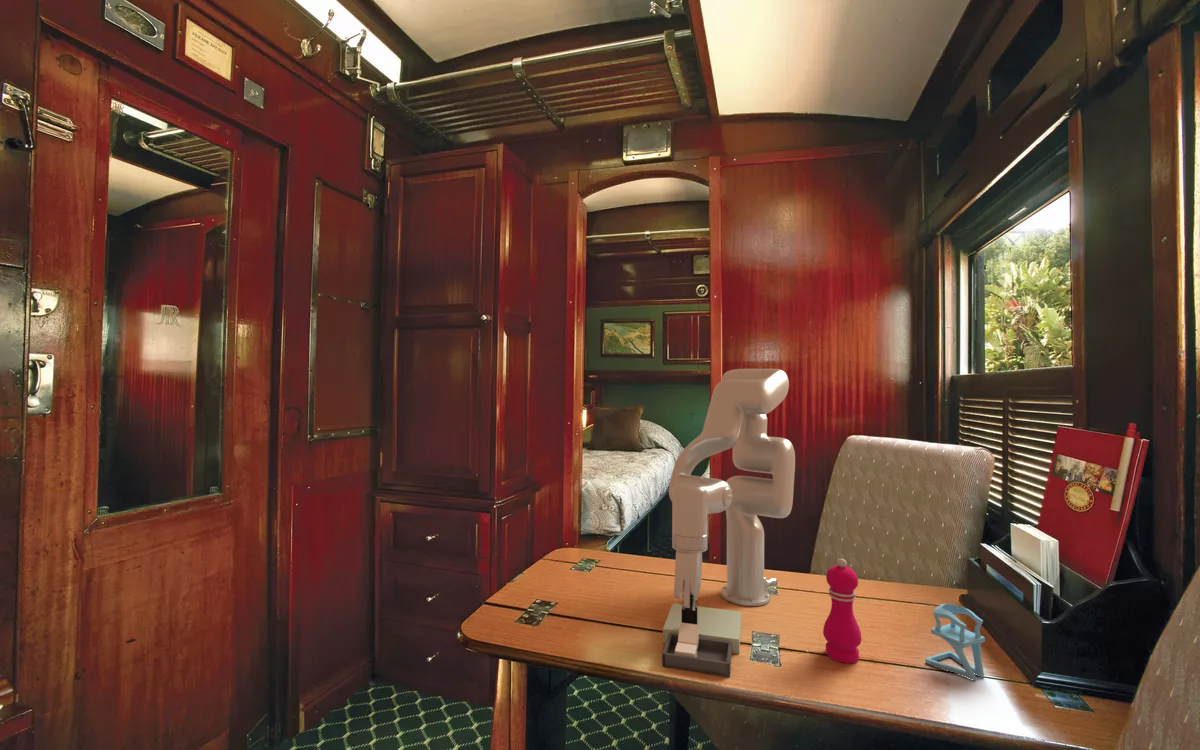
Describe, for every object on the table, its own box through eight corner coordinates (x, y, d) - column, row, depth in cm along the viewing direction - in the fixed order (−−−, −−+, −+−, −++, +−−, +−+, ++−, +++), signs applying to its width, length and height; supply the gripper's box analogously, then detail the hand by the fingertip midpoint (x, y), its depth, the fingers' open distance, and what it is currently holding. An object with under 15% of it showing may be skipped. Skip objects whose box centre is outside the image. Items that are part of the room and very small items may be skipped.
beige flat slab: (672, 615, 128) (672, 603, 128) (741, 624, 123) (741, 611, 123) (662, 642, 114) (662, 628, 115) (739, 654, 110) (739, 639, 110)
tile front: (674, 650, 106) (674, 661, 106) (695, 653, 105) (694, 664, 105) (677, 641, 110) (677, 651, 110) (697, 644, 109) (697, 654, 109)
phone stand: (966, 684, 100) (967, 620, 100) (924, 662, 107) (924, 603, 107) (992, 675, 103) (992, 613, 103) (949, 655, 110) (949, 597, 110)
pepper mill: (859, 669, 105) (859, 567, 105) (820, 658, 108) (820, 560, 109) (863, 653, 111) (863, 557, 111) (826, 644, 114) (826, 551, 115)
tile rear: (680, 627, 114) (680, 622, 113) (699, 629, 113) (699, 624, 112) (678, 645, 111) (677, 640, 110) (698, 648, 110) (697, 643, 108)
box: (669, 645, 114) (669, 633, 114) (731, 654, 110) (731, 642, 110) (662, 666, 105) (662, 653, 105) (729, 677, 101) (729, 664, 101)
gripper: (677, 530, 122) (677, 610, 122) (666, 549, 108) (666, 640, 108) (710, 533, 120) (710, 614, 120) (704, 553, 106) (703, 645, 106)
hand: (689, 626), depth 114 cm, fingers closed
